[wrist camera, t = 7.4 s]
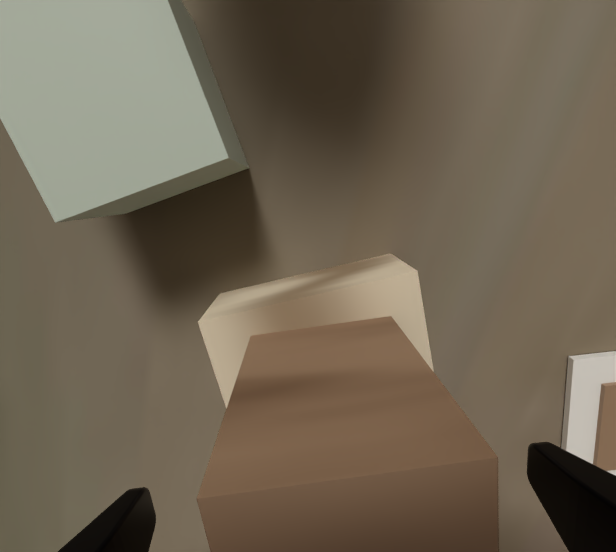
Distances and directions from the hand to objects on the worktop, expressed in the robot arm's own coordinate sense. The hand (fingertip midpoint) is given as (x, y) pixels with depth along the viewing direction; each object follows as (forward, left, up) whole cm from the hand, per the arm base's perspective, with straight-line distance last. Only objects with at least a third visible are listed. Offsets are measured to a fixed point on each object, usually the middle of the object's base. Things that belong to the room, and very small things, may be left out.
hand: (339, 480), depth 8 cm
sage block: (+5, -10, -7) cm, 13 cm away
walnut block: (0, 0, -4) cm, 4 cm away
